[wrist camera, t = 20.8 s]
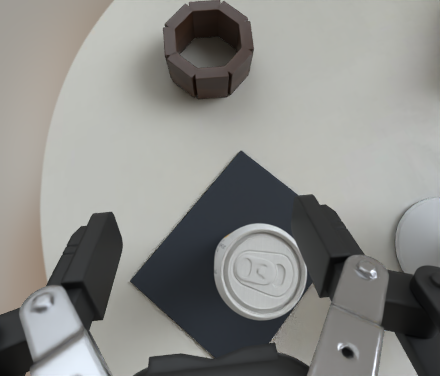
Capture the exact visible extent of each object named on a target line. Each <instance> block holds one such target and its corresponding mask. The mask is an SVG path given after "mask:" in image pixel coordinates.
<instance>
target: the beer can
mask: <svg viewBox="0 0 440 376" xmlns="http://www.w3.org/2000/svg"><path fill="white" fill-rule="evenodd" d="M214 278H215V283H216V286H217V289H218V292H219V294H220V295H221V297H222V299H223V300H224V302H225V303H226V304H227V305H228V306H229V307H230V308H231V309H232V310H233V311H235V312H236V313H238V314H239V315H241V316H243V317H246V318H249V319H253V320H271V319H274V318H277V317H280V316H282V315H284V314H285V313H287V312H288V311H290V310H291V309H292V308H293V307H294V306H295V305H296V303H297V302H298V301H299V299H300V298H301V296H302V294H303V292H304V289H305V285H306V280H307V267H306V265H305V262H304V260H303V258H302V255H301V253H300V251H299V248H298V246H297V244H296V241H295V240H294V239H293V238H292V237H291V236H290V235H289V234H288V233H287V232H285V231H283V230H282V229H280V228H278V227H275V226H273V225H269V224H262V223H261V224H250V225H246V226H243V227H241V228H239V229H237V230H235V231H233V232H232V233H230V234H228V235H227V236H225V237H224V238H223V239H222V240H221V241H220V243H219V244H218V246H217V248H216V251H215V258H214Z"/></svg>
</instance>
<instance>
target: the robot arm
mask: <svg viewBox="0 0 440 376" xmlns="http://www.w3.org/2000/svg"><path fill="white" fill-rule="evenodd" d="M291 230H292V234H293V237H294V239H295V241H296V244H297V246H298V248H299V251H300V253H301V255H302V258H303V260H304V262H305V265H306V267H307V269H308V272H309V274H310V276H311V279H312V281H313V283H314V286H315V288H316V290H317V293H318V295H319V297H320V298H323V297H330V300H331V302H332V303H331V305H330V308H329V311H328V314H327V317H326V320H325V323H324V326H323V329H322V332H321V335H320V338H319V341H318V344H317V347H316V350H315V353H314V356H313V359H312V362H311V365H310V367H309V366H307V365H306V364H305V363H303V362H301V361H300V360H298V359H296V358H294V357H291V356H289V355H286V354H282V353H277V349H276V345H275V343H270V344H261V345H252V346H244V347H242V348H239V349H237V350H234V351H232V352H230V353H227V354H225V355H222V356H220V357H217V358H214V359H210V358H204V357H198V356H192V355H186V354H172V355H163V356H154V357H149V364H148V368H146V369H143V370H142V371H140V372H138V373H136V374H135V375H133V376H378V370H379V363H380V357H381V350H382V343H383V337H384V330H387V331H392V332H395V334H396V336H397V338H398V340H399V341H400V343H401V345H402V347H403V349H404V351H405V352H406V354H407V356H408V358H409V360H410V361H411V363H412V365H413V367H414V369H415V371H416V372H417V374H418V376H440V267H436V266H430V265H425V266H421V267H419V268H417V269H416V271H415V273H414V274H408V273H402V272H396V271H391V270H387V269H386V268H385V267H384V266H383V264H381V263H380V262H379V261H377V260H376V259H374V258H372V257H369V256H366V255H365V254H364V253H363V251H362V250H361V249H360V247H359V246H358V244H357V243H356V241H355V240H354V238H353V237H352V235H351V234H350V232H349V231H348V229H346V226H345V225H344V224H343V222H341V219H340V218H339V216H338V215H337V213H336V212H335V211H334V210H333V209H331V208H330V207H328V206H327V205H320V204H319V203H318V201H317V200H316V198H315V196H314V195H312V194H311V195H300V196H295V198H294V203H293V210H292V218H291ZM122 248H123V242H122V237H121V234H120V231H119V228H118V225H117V222H116V219H115V216H114V214H113V213H112V212H105V213H94V214H92V216H91V218H90V220H89V222H88V224H87V226H81V227H80V228H79V229H78V230H77V231H76V232H75V233H74V234H73V235H72V236H71V238H70V240H69V242H68V244H67V247H66V248H65V250H64V252H63V255H62V256H61V258H60V260H59V262H58V264H57V265H56V267H55V269H54V271H53V273H52V275H51V277H50V279H49V281H48V283H47V285H46V287H43V288H41V289H39V290H37V291H35V292H34V293H33V294H31V295H30V296H29V297H28V298H27V299H26V300H25V301H24V303H23V304H22V306H21V307H20V308H18V309H15V310H13V311H10V312H7V313H4V314H1V315H0V376H25V374H26V372H28V371H30V374H31V376H113V375H112V373H111V371H110V370H109V368H108V366H107V364H106V362H105V360H104V358H103V356H102V354H101V352H100V350H99V348H98V346H97V344H96V342H95V340H94V338H93V337H92V335H91V333H90V331H89V330H90V326H91V323H92V321H97V320H103V318H104V314H105V311H106V307H107V304H108V300H109V296H110V293H111V289H112V286H113V282H114V278H115V275H116V271H117V268H118V264H119V260H120V257H121V253H122Z"/></svg>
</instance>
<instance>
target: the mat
mask: <svg viewBox="0 0 440 376" xmlns="http://www.w3.org/2000/svg"><path fill="white" fill-rule="evenodd" d="M295 196H299V195H297V194H296V193H295V192H293V191H292V190H291V189H290V188H288V187H287V186H286V185H284V184H283V183H282V182H281V181H279V180H278V179H277V178H276V177H274V176H273V175H272V174H270V173H269V172H268V171H267V170H265V169H264V168H263V167H261V166H260V165H259V164H258V163H256V162H255V161H254V160H253V159H251V158H250V157H249V156H247V155H246V154H245V153H244V152H242V151H240V152H239V153H238V155H237V156H236V157H235V158H234V159H233V160H232V162H231V163H230V164H229V165H228V166H227V168H226V169H225V170H224V171H223V172H222V173H221V175H220V176H219V177H218V178H217V179H216V180H215V182H214V183H213V184H212V185H211V186H210V188H209V189H208V190H207V191H206V192H205V193H204V195H203V196H202V197H201V198H200V199H199V201H198V202H197V203H196V204H195V205H194V206H193V208H192V209H191V210H190V211H189V212H188V213H187V215H186V216H185V217H184V218H183V219H182V221H181V222H180V223H179V224H178V225H177V226H176V228H175V229H174V230H173V231H172V232H171V233H170V235H169V236H168V237H167V238H166V239H165V241H164V242H163V243H162V244H161V245H160V246H159V248H158V249H157V250H156V251H155V252H154V254H153V255H152V256H151V257H150V258H149V259H148V261H147V262H146V263H145V264H144V265H143V266H142V268H141V269H140V270H139V271H138V272H137V274H136V275H135V276H134V277H133V278H132V279H131V281H130V282H131V283H133V284H134V285H135V286H136V287H137V288H138V289H139V290H140V291H141V292H143V293H144V294H145V295H146V296H147V297H148V298H149V299H150V300H151V301H153V302H154V303H155V304H156V305H157V306H158V307H159V308H160V309H161V310H162V311H164V312H165V313H166V314H167V315H168V316H169V317H170V318H171V319H172V320H174V321H175V322H176V323H177V324H178V325H179V326H180V327H181V328H182V329H184V330H185V331H186V332H187V333H188V334H189V335H190V336H191V337H192V338H194V339H195V340H196V341H197V342H198V343H199V344H200V345H201V346H202V347H204V348H205V349H206V350H207V351H208V352H209V353H210V354H211V355H212V356H214V357H215V358H217V357H220V356H222V355H225V354H227V353H230V352H232V351H234V350H237V349H239V348H242V347H244V346H252V345H261V344H268V343H269V342H270V341H271V339H272V338H273V337H274V335H275V334H276V332H277V331H278V330H279V328H280V327H281V325H282V324H283V323H284V321H285V320H286V318H287V317H288V316H289V314H290V313H291V311H292V310H293V309H294V307H295V306H296V305H295V306H294V307H293V308H292V309H291V310H290V311H288V312H287V313H285V314H284V315H282V316H280V317H277V318H274V319H271V320H253V319H249V318H246V317H243V316H241V315H239V314H238V313H236V312H235V311H233V310H232V309H231V308H230V307H229V306H228V305H227V304H226V303H225V302H224V300H223V299H222V297H221V295H220V294H219V292H218V289H217V286H216V283H215V278H214V258H215V251H216V248H217V246H218V244H219V243H220V241H221V240H222V239H223V238H224V237H225V236H227V235H228V234H230V233H232V232H233V231H235V230H237V229H239V228H241V227H243V226H246V225H250V224H261V223H262V224H269V225H273V226H275V227H278V228H280V229H282V230H283V231H285V232H287V233H288V234H289V235H290V236H291V237H292V238H293V239H294V237H293V234H292V230H291V218H292V210H293V203H294V198H295ZM294 240H295V239H294ZM312 282H313V281H312V279H311V276H310V274H309V272H308V269H307V280H306V285H305V289H304V292H303V294H302V296H303V295H304V293H305V292H306V291H307V289H308V288H309V286H310V285H311V284H312ZM302 296H301V298H302ZM301 298H300V299H301ZM300 299H299V300H300ZM298 302H299V301H298ZM298 302H297V303H298ZM297 303H296V304H297Z"/></svg>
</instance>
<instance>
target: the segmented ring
mask: <svg viewBox="0 0 440 376" xmlns="http://www.w3.org/2000/svg"><path fill="white" fill-rule="evenodd" d="M163 34H164V49H165V58H166V61H167V65H168V69H169V72H170V76H171V78H172V80H173V82H174V83H176V84H177V85H178V86H180V87H181V88H182V89H183V90H185V91H186V92H187V93H189V94H190V95H191V96H193V97H194V98H195V97H196V96H197V95H198V99H206V98H218V97H227V93H228V94H230V95H231V94H232V93H233V92H234V91H235V89H236V88H237V87H238V86H239V85H240V84H241V83H242V82H243V81H244V79H245V78H246V77H247V76H248V74H249V71H250V66H251V61H252V56H253V51H254V46H253V39H252V32H251V24H250V21H248V18H247V17H246V16H244V15H243V14H242V13H240V12H239V11H237V10H236V9H235V8H233V7H232V6H230V5H229V4H228V3H226V2H225V1H223V2H222V3H221V4H220V0H211V1H196V2H189V6H188V5H187V4H184V5H183V6H182V7H181V8H180V9H179V10H178V11H177V12H176V13H175V14H174V15H173V16H172V17H171V18H170V19H169V20H168V21H167V22H166V23H165V27H164V28H163ZM204 37H219V38H221V39H222V40H224V41H225V42H226V43H228V44H229V45H230V46H232V47H233V48H234V49H236V55H235V56H234V57H233V58H232V59H231V60H230V61H229V62H228V63H227V64H226V65H225V66H220V67H207V68H197V67H195V66H194V65H193V64H191V63H190V62H189V61H187V60H186V59H185V58H183V57H182V56H181V55H180V53H181V52H182V51H183V50H184V49H185V48H186V47H187V46H188V45H189V44H190V43H191V42H192V41H193V40H194V39H195V38H204Z"/></svg>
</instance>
